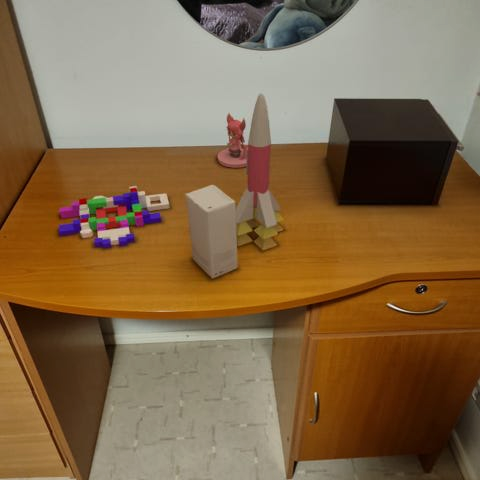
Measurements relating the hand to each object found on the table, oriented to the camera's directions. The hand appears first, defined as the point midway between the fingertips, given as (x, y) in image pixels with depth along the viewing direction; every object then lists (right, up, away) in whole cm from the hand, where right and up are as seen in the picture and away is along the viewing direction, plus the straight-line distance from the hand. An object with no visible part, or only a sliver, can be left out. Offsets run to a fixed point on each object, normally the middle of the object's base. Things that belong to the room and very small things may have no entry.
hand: (479, 98), depth 111 cm
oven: (-20, -15, +14) cm, 29 cm away
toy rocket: (-51, -32, -3) cm, 61 cm away
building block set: (-83, -28, 0) cm, 88 cm away
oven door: (-7, -15, +13) cm, 21 cm away
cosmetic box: (-61, -40, -11) cm, 73 cm away
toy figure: (-56, -7, +21) cm, 61 cm away
